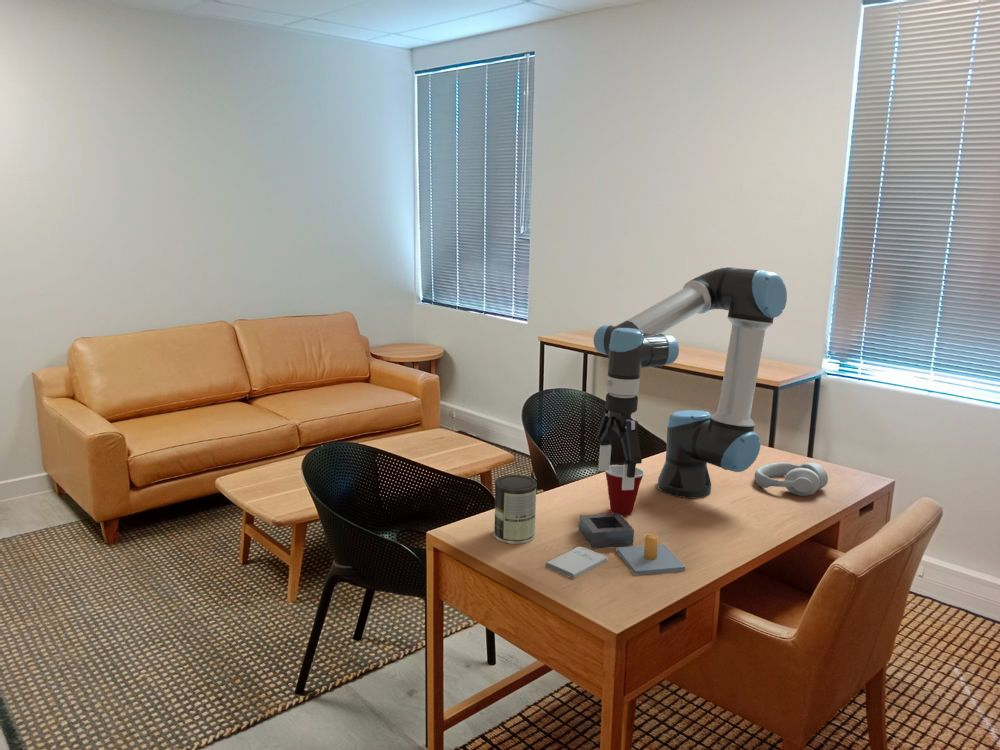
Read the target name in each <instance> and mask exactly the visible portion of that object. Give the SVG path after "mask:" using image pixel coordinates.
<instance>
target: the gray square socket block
mask: <svg viewBox="0 0 1000 750" xmlns="http://www.w3.org/2000/svg"><path fill="white" fill-rule="evenodd" d="M578 517H579V519H578V531H579V532H580V534H581V535H582V537H583V538H584V539H585V541H586V542H587V544H588V545H589V547H591V549H597V548H613V547H614V548H615V547H629V546H634V537H635V536H634V535H635V529H634V528H633V527H632V526H631V524H630V523H629V522H628V521H627V520H626V519H625V518H624V517H623V516H621V515H620V514H619V513H612V512H610V513H597V514H581V515H579V516H578Z"/></svg>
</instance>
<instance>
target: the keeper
mask: <svg viewBox="0 0 1000 750" xmlns="http://www.w3.org/2000/svg"><path fill="white" fill-rule="evenodd" d="M616 553H617V555H619V556H620V558H621V559H622V561H623V562H624V563H625V564H626V565H627V567H628V568H629V569H630V571H631V572H632V573H633V575H634V576H642V575H643V576H644V575H653V574H655V575H656V574H663V573H664V574H666V573H676V572H678V573H679V572H686V566H685V565H684V564H683V563H682V561H681V560H680V559H678V557H677V556H676V554H674V553H673V551H671V550H670V549H669V548H668V547H667V546H666V544H664V543H662V544H661V543H660V544H659V536H658V535H656V534H646V535H645V536H644V545H637V546H636V545H635V546H634V545H632V546H619V547H616Z"/></svg>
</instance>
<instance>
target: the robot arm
mask: <svg viewBox="0 0 1000 750" xmlns="http://www.w3.org/2000/svg"><path fill="white" fill-rule="evenodd" d="M787 298H788V291H787V287H786V284H785V282H784V280H783V277H781V276H780V275H779V274H777V273H776V272H773V271H767V270H763V269H750V268H749V269H748V268H737V267H733V266H732V267H720V268H717V269H714V270H713V269H712V270H710V271H708V272H706V273H703V274H700V275H699V276H696V277H695V278H693V279H691V280H689V281H687V282H686V283H685V284H684V285H683V287H682V289H681V290H679V291H677V292H675V293H674V294H672V295H670V296H667V297H666V298H663V300H660V301H659V302H657V303H655V304H653V305H652V306H650V307H648V308H646V309H645V310H642V311H641V312H639V313H637V314H636V315H633V316H632V317H630V318H628V319H626V320H625V321H623V322H621V323H619V324H617V325H615V326H614V325H612V324H610V325H605V324H604V325H601V326H600V327H598V328H597V330H596V331H595V333H594V335H593V345H594V349H595V350H596V351H597V353H600V354H603V355H605V356H607V357H608V368H607V379H606V381H605V384H606V392H607V393H606V395H605V401H604V402H605V405H604V406H605V407H603V413H602V418H601V421H600V423H599V426H598V430H597V432H596V434H595V435H596V436H595V438H596V440H597V441H598V444H599V453H598V455H599V457H598V467H597V468H598V470H597V471H598V472H605V471H609V469H610V466H611V457H612V456H611V455H612V454H611V453H612V444H613V443H612V442H613V441H612V440H613V438H614V437H615V435H616V434H617V437H618V438H620V443H621V446H622V449H623V450H622V451H623V455H624V461H623V465H624V467H623V480H622V490H634V480H635V468H637V465H639V464H642V461H643V460H642V453H641V445H640V438H639V437H640V436H639V431H638V430H639V421H638V420H632V414H634V413H637V410H638V404H639V403H638V402H639V397H638V394H639V392H640V391H639V390H640V384H641V383H640V381H641V369H643V368H652V367H653V368H654V367H664V366H667V365H671V364H673V363H675V361H676V360H677V358H678V357H679V352H680V345H679V343H678V342H679V341H677V339H676V338H675V337H674V336H673V335H671V334H663V333H665V332H666V331H669V330H670V329H671V328H673V327H675V326H677V325H678V324H681V323H682V322H684V321H686V320H688V319H689V318H691V317H692V316H694V315H697V314H701V315H702V314H704V313H706V312H708V311H711V310H723V311H728V312H727V319H728V321H729V322H730V323H731V330H730V331H731V332H730V337H729V343H728V348H727V353H726V361H725V364H724V365H725V366H724V371H723V379H722V381H721V389H720V395H719V401H718V407H717V411H716V412H715V413H714V414H711V413H710V412H709V411H705V410H699V409H698V410H695V409H693V410H692V409H690V410H689V409H686V410H679V411H675V412H673V413H671V414H670V415H669V417H668V424H667V427H666V428H667V430H666V431H667V433H666V449H665V462H664V464H663V466H662V468H661V471H660V473H659V476H658V477H657V488H658V489H659V490H660V491H661V492H663V493H665V494H668V495H669V496H674V497H677V498H686V499H690V498H691V499H693V498H694V499H696V498H702V497H706V496H708V495H710V494H711V491H712V481H711V478H710V473H709V469H708V465H707V464H709V465H712V466H716V467H718V468H721V469H723V470H725V471H730V472H735V473H742V472H744V471H745V470H748V469H749V468H750V467H751V466H752V465H753V464H754V462H755V461H757V458H758V456H759V453H760V451H761V446H762V445H761V443H762V442H761V440H760V436H759V434H757V433H756V432H754V431H755V426H756V425H755V422H754V421H753V419H752V418H751V415H752V414H751V413H752V409H753V408H752V407H753V402H754V396H755V391H756V384H757V380H758V375H759V374H758V373H759V367H760V363H761V357H762V352H763V351H762V350H763V345H764V340H765V334H766V330H767V329H768V328H769V327H770V326H772V325H773V324H774V320H775V318H777V317H779V316H781V315H782V313H783V311H784V310H785V308H786V305H787V300H788V299H787Z"/></svg>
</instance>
